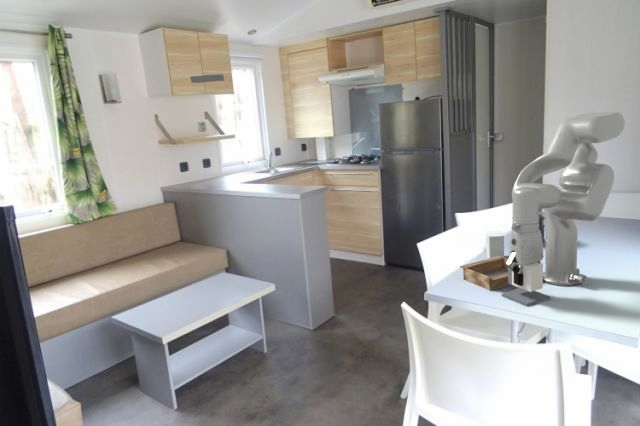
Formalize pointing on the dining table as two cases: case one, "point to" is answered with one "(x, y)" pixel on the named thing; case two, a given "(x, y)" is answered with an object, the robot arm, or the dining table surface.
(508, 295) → the pad
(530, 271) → the box
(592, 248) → the dining table surface
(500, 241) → the small box
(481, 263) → the wooden tray
